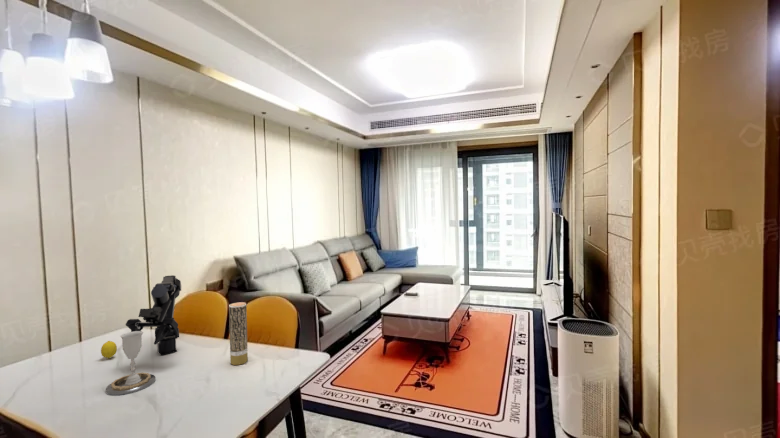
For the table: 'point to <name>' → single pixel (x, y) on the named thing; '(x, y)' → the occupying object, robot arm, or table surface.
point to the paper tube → (238, 333)
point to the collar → (121, 388)
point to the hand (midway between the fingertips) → (143, 344)
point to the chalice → (132, 352)
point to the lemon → (108, 349)
